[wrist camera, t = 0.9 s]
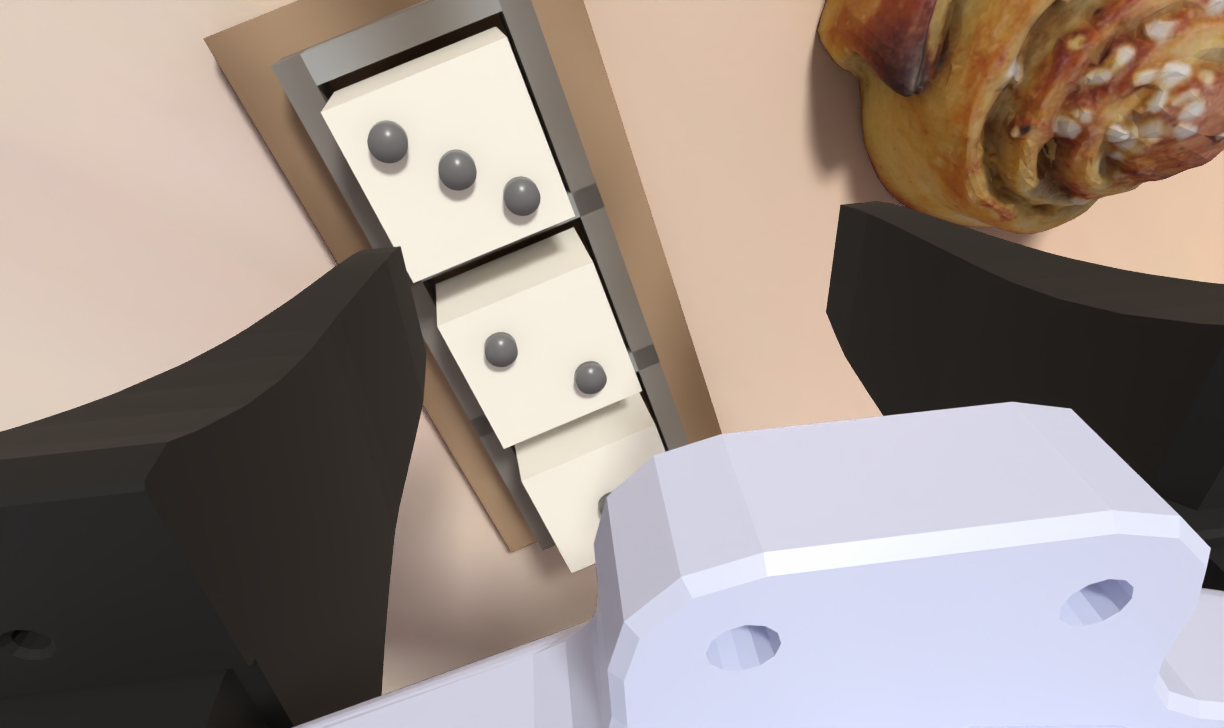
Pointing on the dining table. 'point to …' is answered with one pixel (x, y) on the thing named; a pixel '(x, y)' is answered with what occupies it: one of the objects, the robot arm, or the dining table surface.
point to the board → (604, 220)
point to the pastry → (1030, 100)
